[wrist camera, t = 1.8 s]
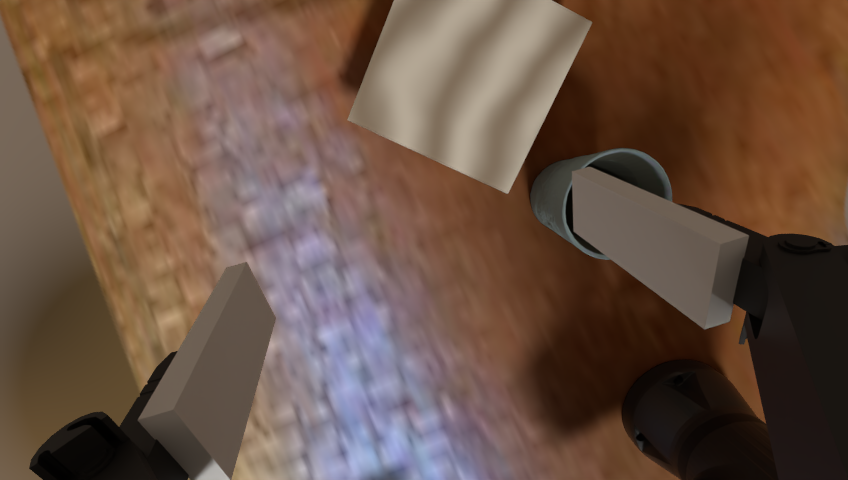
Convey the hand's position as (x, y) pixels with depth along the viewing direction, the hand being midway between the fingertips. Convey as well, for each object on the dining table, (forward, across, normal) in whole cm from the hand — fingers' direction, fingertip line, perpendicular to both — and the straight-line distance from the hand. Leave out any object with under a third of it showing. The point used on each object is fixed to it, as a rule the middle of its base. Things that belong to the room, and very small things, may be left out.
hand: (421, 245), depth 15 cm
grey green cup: (+26, -20, +13) cm, 35 cm away
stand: (+31, -11, -2) cm, 33 cm away
